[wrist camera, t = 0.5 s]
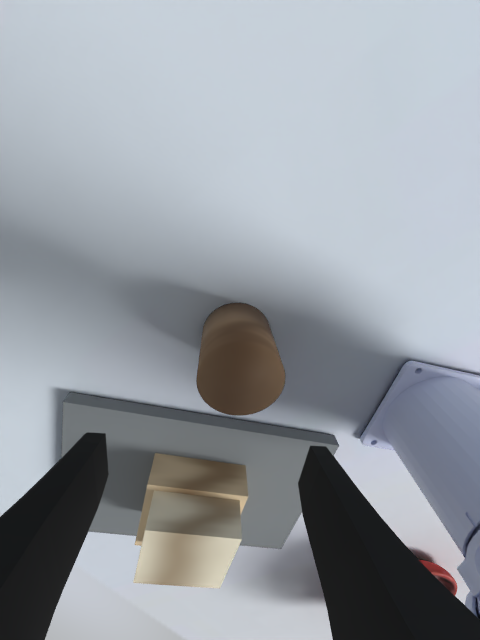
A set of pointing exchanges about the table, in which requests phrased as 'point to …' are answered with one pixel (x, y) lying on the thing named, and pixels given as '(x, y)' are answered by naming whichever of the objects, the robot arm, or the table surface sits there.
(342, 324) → the table surface
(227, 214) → the table surface
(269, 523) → the grey base plate
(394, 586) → the robot arm
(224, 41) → the table surface
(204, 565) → the birch top block
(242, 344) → the walnut cylinder
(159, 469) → the oak bottom block
